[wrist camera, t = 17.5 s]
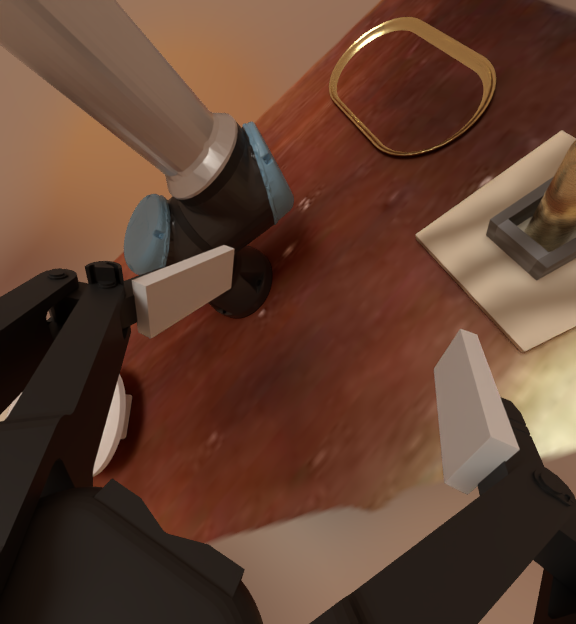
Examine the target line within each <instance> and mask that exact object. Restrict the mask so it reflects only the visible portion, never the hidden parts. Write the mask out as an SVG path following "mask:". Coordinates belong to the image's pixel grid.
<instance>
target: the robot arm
mask: <svg viewBox="0 0 576 624" xmlns="http://www.w3.org/2000/svg"><path fill="white" fill-rule="evenodd" d="M0 45H1V46H2V47H3V48H5V49H6V50H7V51H9V52H10V53H11V54H12V55H14V56H15V57H16V58H18V59H19V60H20V61H21V62H23V63H24V64H25V65H26V66H28V67H29V68H30V69H31V70H33V71H34V72H35V73H37V74H38V75H39V76H40V77H42V78H43V79H44V80H46V81H47V82H48V83H49V84H51V85H52V86H53V87H54V88H56V89H57V90H58V91H59V92H61V93H62V94H63V95H65V96H66V97H67V98H69V99H70V100H71V101H72V102H73V103H75V104H76V105H77V106H79V107H80V108H81V109H82V110H84V111H85V112H86V113H88V114H89V115H90V116H91V117H93V118H94V119H95V120H96V121H98V122H99V123H100V124H101V125H103V126H104V127H105V128H107V129H108V130H109V131H111V132H112V133H113V134H114V135H116V136H117V137H118V138H119V139H121V140H122V141H123V142H125V143H126V144H127V145H128V146H130V147H131V148H132V149H133V150H135V151H136V152H137V153H138V154H140V155H141V156H142V157H144V158H145V159H146V160H147V161H149V162H150V163H151V164H152V165H154V166H155V167H156V168H158V169H159V170H160V171H161V172H163V173H164V174H165V176H166V181H167V186H168V190H169V192H170V194H171V195H172V196H173V197H172V198H171V199H169V200H166V198H165V197H163V196H162V195H161V196H159V195H157V194H151V195H147V196H146V197H145V198H143V199H142V200H141V201H140V203H139V204H138V205H137V207H136V208H135V210H134V212H133V214H132V216H131V218H130V221H129V223H128V227H127V230H126V234H125V240H124V257H125V261H126V263H127V265H128V267H129V268H130V269H131V270H132V271H133V272H134V273H136V274H138V275H139V276H136V277H134V278H131V279H128V280H126V281H124V280H123V274H122V267H121V265H120V264H118V263H115V262H110V261H99V262H93V263H90V264H88V265H86V266H85V270H86V274H87V278H88V283H89V284H87V283H83V282H78V278H77V274H76V272H74V271H72V270H68V269H52V270H49V271H45V272H43V273H40V274H39V275H37V276H35V277H34V278H32V279H30V280H29V281H27V282H25V283H24V284H22V285H20V286H18V287H17V288H15V289H13V290H12V291H10V292H8V293H7V294H5V295H3V296H1V297H0V414H1V413H2V412H3V411H4V410H5V409H6V408H7V407H8V406H9V405H10V404H11V403H12V402H13V401H14V400H15V399H16V398H17V397H18V396H19V395H20V394H21V393H22V394H21V396H20V397H19V399H18V401H17V402H16V404H15V405H14V407H13V409H12V410H11V412H10V414H9V415H8V417H7V418H6V419H5V420H4V421H1V422H0V624H263V622H262V619H261V615H260V613H259V611H258V608H257V606H256V603H255V601H254V599H253V598H252V596H251V594H250V592H249V590H248V589H247V588H246V586H245V585H244V584H243V582H242V581H241V579H242V576H243V573H244V569H243V568H242V567H240V566H239V565H237V564H236V563H234V562H233V561H232V560H230V559H229V558H227V557H226V556H224V555H223V554H221V553H220V552H218V551H217V550H215V549H214V548H213V547H211V546H210V545H208V544H204V543H200V542H197V541H193V540H189V539H185V538H182V537H178V536H174V535H170V534H167V533H166V532H164V531H163V530H162V528H161V527H160V525H159V524H158V522H157V521H156V519H155V518H154V517H153V515H152V514H151V512H150V511H149V509H148V508H147V506H146V505H145V503H144V502H143V500H142V499H141V498H140V497H138V496H137V495H135V494H134V493H133V492H131V491H130V490H128V489H127V488H125V487H124V486H122V485H121V484H119V483H118V482H116V481H115V480H114V479H111V480H110V481H109V482H108V483H107V484H106V485H105V486H104V487H103V488H102V487H93V469H94V464H95V460H96V457H97V453H98V450H99V446H100V442H101V439H102V435H103V431H104V428H105V424H106V421H107V417H108V413H109V410H110V406H111V403H112V399H113V395H114V392H115V388H116V384H117V381H118V377H119V374H120V370H121V366H122V363H123V359H124V356H125V352H126V348H127V345H128V341H129V337H130V334H131V328H130V325H132V324H134V323H136V322H137V326H138V332H139V333H141V334H143V335H145V336H147V337H149V338H153V337H154V336H156V335H157V334H159V333H160V332H162V331H164V330H165V329H167V328H168V327H170V326H172V325H173V324H175V323H176V322H178V321H179V320H181V319H183V318H184V317H186V316H187V315H189V314H191V313H192V312H194V311H195V310H197V309H199V308H200V307H202V306H203V305H205V304H206V303H209V304H210V305H211V306H212V307H213V308H214V309H215V310H216V311H218V312H219V313H221V314H222V315H225V316H228V317H231V318H243V317H246V316H248V315H250V314H252V313H253V312H255V311H256V310H257V309H258V308H259V307H260V306H261V305H262V303H263V302H264V301H265V299H266V297H267V295H268V293H269V290H270V287H271V283H272V269H271V265H270V262H269V260H268V259H267V257H266V256H265V255H264V254H263V253H261V252H260V251H258V250H257V249H255V248H253V247H251V246H246V245H248V244H249V243H250V242H252V241H253V240H254V239H256V238H257V237H258V236H260V235H261V234H262V233H263V232H265V231H266V230H267V229H269V228H270V227H271V226H273V225H276V223H277V222H278V220H279V219H281V218H282V217H283V216H284V215H285V214H286V213H288V212H289V211H290V210H291V208H292V207H293V203H294V197H293V194H292V192H291V190H290V188H289V186H288V184H287V182H286V180H285V178H284V176H283V174H282V172H281V170H280V169H279V167H278V165H277V163H276V161H275V159H274V157H273V156H272V154H271V152H270V150H269V148H268V146H267V144H266V143H265V141H264V139H263V137H262V135H261V133H260V132H259V130H258V129H257V127H256V125H255V123H253V122H249V123H247V124H243V127H242V128H241V127H240V126H239V125H238V123H237V122H236V121H235V120H234V118H233V117H232V116H231V115H229V114H226V113H212V112H210V111H209V110H208V109H207V108H206V106H205V105H204V104H203V103H202V102H201V101H200V99H199V98H198V97H197V96H196V95H195V93H194V92H193V91H192V90H191V89H190V88H189V86H188V85H187V84H186V83H185V82H184V81H183V79H182V78H181V77H180V76H179V75H178V73H177V72H176V71H175V70H174V69H173V68H172V66H171V65H170V64H169V63H168V62H167V61H166V59H165V58H164V57H163V56H162V55H161V53H159V51H158V50H157V49H156V48H155V46H154V45H153V44H152V43H151V42H150V40H149V39H148V38H147V37H146V36H145V35H144V33H143V32H142V31H141V30H140V29H139V28H138V26H137V25H136V24H135V23H134V22H133V21H132V19H131V18H130V17H129V16H128V15H127V13H126V12H125V11H124V10H123V9H122V8H121V6H120V5H119V4H118V3H117V2H116V0H0ZM48 311H49V313H50V316H51V317H50V318H49V319H48V320H46V315H47V312H48ZM434 375H435V386H436V397H437V408H438V419H439V430H440V441H441V453H442V464H443V475H444V483H445V484H447V485H449V486H451V487H453V488H455V489H457V490H459V491H461V492H463V493H465V494H469V493H470V492H471V491H473V490H474V489H475V488H476V487H477V486H478V489H479V494H480V496H479V497H478V498H477V499H475V500H474V501H473V502H472V503H470V504H469V505H468V506H466V507H465V508H464V509H462V510H461V511H460V512H458V513H457V514H456V515H454V516H453V517H452V518H450V519H449V520H448V521H446V522H445V523H444V524H443V525H441V526H440V527H439V528H437V529H436V530H435V531H433V532H432V533H431V534H429V535H428V536H427V537H425V538H424V539H423V540H421V541H420V542H419V543H418V544H416V545H415V546H413V547H412V548H411V549H410V550H408V551H407V552H406V553H404V554H403V555H402V556H400V557H399V558H398V559H396V560H395V561H394V562H392V563H391V564H390V565H388V566H387V567H386V568H384V569H383V570H382V571H380V572H379V573H378V574H376V575H375V576H374V577H372V578H371V579H370V580H369V581H367V582H366V583H364V584H363V585H362V586H361V587H359V588H358V589H357V590H355V591H354V592H352V593H351V594H350V595H348V596H346V597H345V598H343V599H342V600H340V601H339V602H338V603H336V604H335V605H334V606H332V607H331V608H330V609H329V610H327V611H326V612H325V613H323V614H322V615H321V616H319V617H318V618H316V619H315V620H314V621H312V622H311V623H310V624H478V623H479V622H480V621H481V619H482V618H483V617H484V616H485V615H486V614H487V612H488V611H489V610H490V609H491V608H492V606H494V604H495V603H496V602H497V601H498V600H499V599H500V597H501V596H502V595H503V594H504V593H505V592H506V591H507V589H508V588H509V587H510V586H511V585H512V584H513V582H514V581H515V580H516V579H517V578H518V577H519V576H520V574H521V573H522V572H523V571H524V570H525V569H526V567H527V566H528V565H529V564H530V563H531V562H532V560H534V561H535V562H537V563H538V564H539V565H540V566H542V567H543V568H544V570H543V575H542V581H541V586H540V591H539V596H538V601H537V606H536V612H535V617H534V622H533V624H576V499H575V497H574V494H573V493H572V492H571V490H570V489H569V487H568V486H567V485H566V484H565V483H564V482H563V481H562V480H561V479H560V478H559V477H558V476H557V475H555V474H554V473H552V472H551V471H550V470H548V469H547V468H545V467H544V465H543V463H542V460H541V458H540V456H539V453H538V451H537V449H536V447H535V444H534V442H533V440H532V437H531V436H530V433H529V430H528V428H527V427H526V423H525V421H524V419H523V417H522V414H521V413H520V411H519V410H518V409H517V408H516V407H515V405H514V404H513V403H512V402H511V401H509V400H506V399H504V398H501V397H500V395H499V393H498V390H497V387H496V384H495V382H494V379H493V376H492V374H491V371H490V368H489V366H488V363H487V360H486V358H485V355H484V352H483V350H482V347H481V344H480V341H479V339H478V336H477V335H476V334H474V333H471V332H468V331H465V330H462V329H460V330H459V332H458V333H457V335H456V336H455V338H454V339H453V341H452V342H451V344H450V345H449V347H448V348H447V350H446V351H445V353H444V354H443V356H442V357H441V359H440V360H439V362H438V363H437V365H436V366H435V368H434Z"/></svg>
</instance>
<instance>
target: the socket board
mask: <svg viewBox="0 0 576 624" xmlns="http://www.w3.org/2000/svg"><path fill="white" fill-rule="evenodd" d="M575 140H576V138H574V137H572V136H571V135H569V134H567V133H565V132H563V131H560V132H559V133H557V134H556V135H555V136H553V137H552V138H550V139H549V140H548V141H546V142H545V143H543V144H542V145H541V146H539V147H538V148H536V149H535V150H534V151H532V152H531V153H529V154H528V155H527V156H525V157H524V158H522V159H521V160H520V161H518V162H517V163H515V164H514V165H513V166H511V167H510V168H508V169H507V170H506V171H504V172H503V173H501V174H500V175H499V176H497V177H496V178H494V179H493V180H491V181H490V182H489V183H487V184H486V185H484V186H483V187H482V188H480V189H479V190H477V191H476V192H475V193H473V194H472V195H470V196H469V197H468V198H466V199H465V200H463V201H462V202H461V203H459V204H458V205H456V206H455V207H454V208H452V209H451V210H449V211H448V212H447V213H445V214H444V215H442V216H441V217H440V218H438V219H437V220H435V221H434V222H433V223H431V224H430V225H428V226H427V227H426V228H424V229H423V230H421V231H420V232H419V233H417V234H416V240H417V241H418V242H419V243H420V244H421V245H422V246H423V247H424V248H425V249H426V250H427V251H428V253H429V254H430V255H431V256H432V257H433V258H434V259H435V260H436V261H437V262H438V263H439V264H440V265H441V267H442V268H443V269H444V270H445V271H446V272H447V273H448V274H449V275H450V276H451V277H452V278H453V279H454V281H455V282H456V283H457V284H458V285H459V286H460V287H461V288H462V289H463V290H464V291H465V292H466V294H467V295H468V296H469V297H470V298H471V299H472V300H473V301H474V302H475V303H476V304H477V305H478V306H479V308H480V309H481V310H482V311H483V312H484V313H485V314H486V315H487V316H488V317H489V318H490V319H491V320H492V322H493V323H494V324H495V325H496V326H497V327H498V328H499V329H500V330H501V331H502V332H503V333H504V334H505V336H506V337H507V338H508V339H509V340H510V341H511V342H512V343H513V344H514V345H515V346H516V347H517V349H518V350H519V351H520V352H521V353H523V352H525V351H527V350H529V349H531V348H533V347H535V346H537V345H539V344H541V343H543V342H545V341H547V340H549V339H551V338H553V337H555V336H557V335H559V334H561V333H563V332H565V331H567V330H569V329H571V328H573V327H575V326H576V230H575V232H574V233H573V234H572V235H571V236H570V237H569V238H568V240H567V241H566V242H565V243H564V244H563V245H562V246H560V247H559V248H557V249H555V250H553V251H549V252H548V251H547V250H546V249H544V248H543V247H542V246H541V245H539V244H538V243H537V242H536V241H534V240H533V239H532V238H531V237H530V236H528V235H527V234H526V233H525V232H524V231H525V229H526V227H527V225H528V223H529V222H530V220H531V218H532V216H533V214H534V212H535V211H536V209H537V207H538V205H539V203H540V201H541V199H542V198H543V196H544V194H545V192H546V190H547V188H548V187H549V185H550V183H551V181H552V179H553V177H554V176H555V174H556V172H557V170H558V168H559V166H560V164H561V163H562V161H563V159H564V157H565V155H566V153H567V152H568V150H569V148H570V146H571V145H572V144H573V142H574V141H575Z"/></svg>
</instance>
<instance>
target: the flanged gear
mask: <svg viewBox="0 0 576 624" xmlns="http://www.w3.org/2000/svg"><path fill="white" fill-rule="evenodd" d="M21 394H22V393H21ZM21 394H20V395H19V396H18V397H17V398H16V399H15V400H14V401H13V402H12V403H11V406H10V408H9V411H8V414H7V417H8V415H9V414H10V412H11V410H12V409H13V407H14V405H15V404H16V402H17V401H18V399H19V397H20V396H21ZM131 403H132V395H127V394H125V389H124V384H123V381H122V378H121V376H120V374H119V377H118V381H117V384H116V388H115V392H114V395H113V399H112V403H111V406H110V410H109V413H108V417H107V421H106V424H105V428H104V431H103V435H102V439H101V442H100V446H99V450H98V453H97V457H96V460H95V464H94V469H93V477H94V476H96V475H97V474H99V473H100V472H101V471H102V470H103V469H104V468H105V467H106V466H107V465H108V463H109V462H110V460H111V459H112V457H113V455H114V453H115V451H116V449H117V446H118V444H119V441H120V439H124V438H126V435H127V429H128V423H129V416H130V410H131ZM7 417H6V418H7Z"/></svg>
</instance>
